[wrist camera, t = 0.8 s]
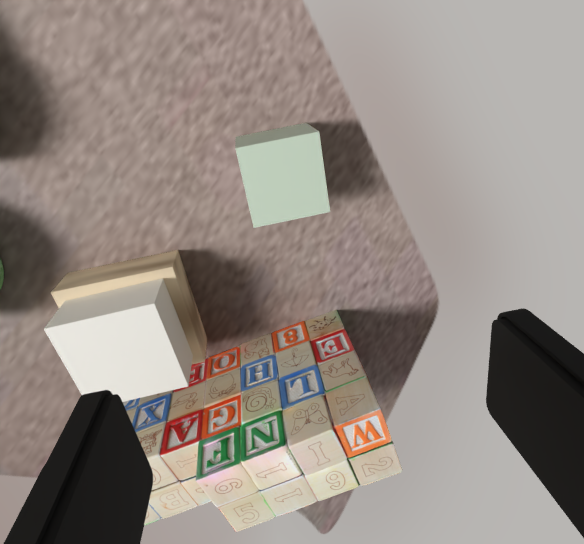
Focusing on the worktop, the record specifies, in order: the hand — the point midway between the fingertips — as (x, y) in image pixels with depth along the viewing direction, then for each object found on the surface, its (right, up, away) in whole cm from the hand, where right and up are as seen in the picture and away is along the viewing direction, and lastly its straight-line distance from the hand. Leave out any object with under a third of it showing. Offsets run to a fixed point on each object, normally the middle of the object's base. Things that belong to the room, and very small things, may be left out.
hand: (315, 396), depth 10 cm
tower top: (-12, -1, +20) cm, 24 cm away
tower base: (-13, 0, +23) cm, 26 cm away
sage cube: (-2, +11, +19) cm, 22 cm away
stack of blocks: (-6, -6, +27) cm, 28 cm away
